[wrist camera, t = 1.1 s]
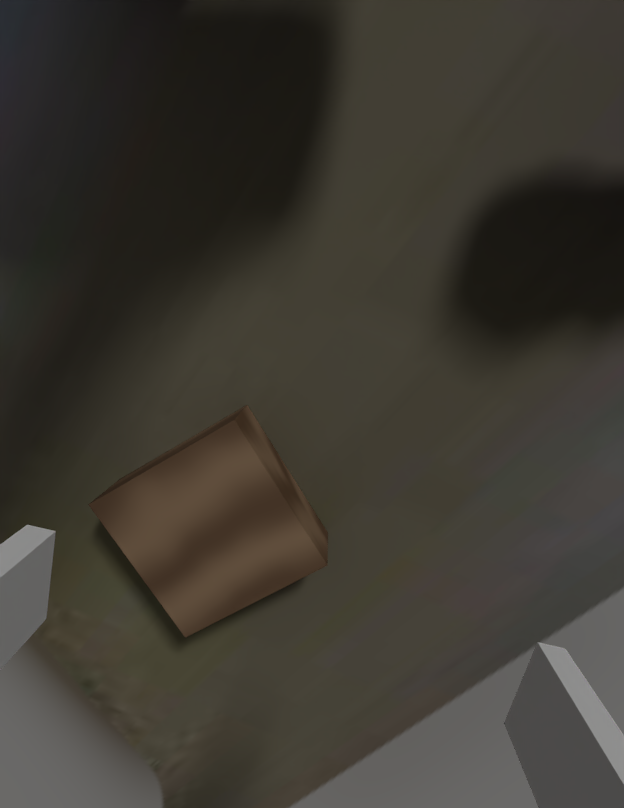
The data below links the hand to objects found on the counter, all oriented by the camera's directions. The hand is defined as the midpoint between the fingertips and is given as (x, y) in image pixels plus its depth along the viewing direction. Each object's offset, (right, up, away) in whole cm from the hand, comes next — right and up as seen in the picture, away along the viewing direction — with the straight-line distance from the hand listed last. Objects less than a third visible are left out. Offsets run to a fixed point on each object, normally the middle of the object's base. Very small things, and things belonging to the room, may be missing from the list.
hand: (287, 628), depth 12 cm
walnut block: (-7, -3, +26) cm, 27 cm away
